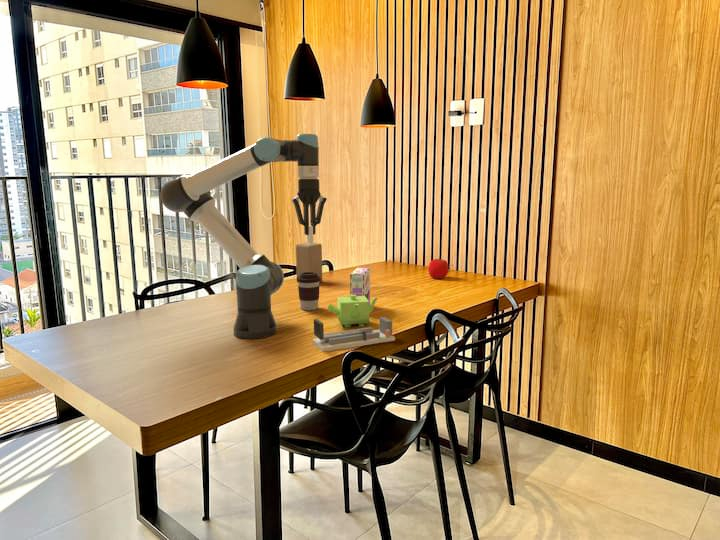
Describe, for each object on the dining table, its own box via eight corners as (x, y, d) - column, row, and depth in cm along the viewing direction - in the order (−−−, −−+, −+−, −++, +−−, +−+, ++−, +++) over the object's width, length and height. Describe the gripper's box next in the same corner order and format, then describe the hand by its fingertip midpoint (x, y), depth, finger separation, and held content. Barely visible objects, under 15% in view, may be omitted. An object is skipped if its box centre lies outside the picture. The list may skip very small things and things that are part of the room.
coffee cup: (326, 308, 216) (325, 273, 214) (308, 313, 209) (307, 276, 207) (310, 304, 223) (309, 270, 220) (292, 308, 216) (291, 273, 213)
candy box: (364, 313, 208) (364, 273, 205) (349, 313, 209) (349, 273, 206) (370, 305, 221) (370, 267, 218) (357, 304, 222) (356, 267, 219)
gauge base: (322, 351, 164) (322, 333, 163) (312, 342, 173) (312, 324, 172) (395, 340, 175) (395, 322, 174) (381, 332, 184) (381, 315, 183)
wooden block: (308, 279, 275) (307, 241, 271) (323, 281, 269) (322, 243, 265) (295, 282, 267) (294, 244, 263) (310, 284, 261) (309, 245, 257)
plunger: (322, 347, 164) (321, 325, 163) (314, 339, 171) (313, 319, 170) (366, 340, 170) (366, 319, 169) (356, 333, 177) (356, 313, 176)
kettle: (380, 322, 196) (380, 293, 194) (360, 332, 184) (360, 301, 182) (348, 316, 204) (347, 289, 202) (326, 325, 192) (325, 296, 190)
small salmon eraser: (386, 337, 173) (386, 330, 173) (385, 336, 175) (385, 329, 174) (390, 336, 174) (390, 330, 173) (388, 335, 175) (388, 329, 175)
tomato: (428, 276, 281) (428, 256, 279) (448, 276, 279) (448, 257, 277) (428, 280, 271) (428, 259, 269) (448, 280, 269) (449, 260, 267)
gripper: (294, 178, 179) (296, 246, 183) (329, 178, 184) (330, 243, 189) (288, 178, 186) (290, 243, 190) (322, 178, 191) (323, 241, 195)
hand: (310, 243), depth 189 cm, fingers closed
